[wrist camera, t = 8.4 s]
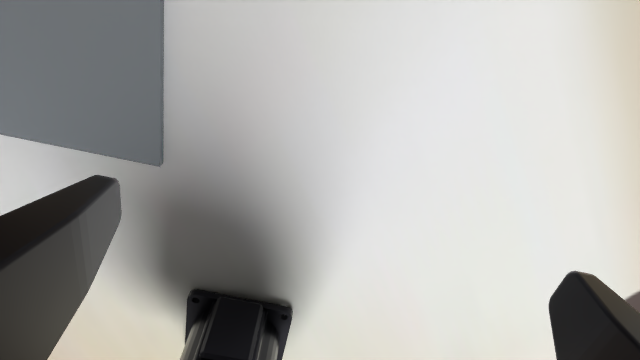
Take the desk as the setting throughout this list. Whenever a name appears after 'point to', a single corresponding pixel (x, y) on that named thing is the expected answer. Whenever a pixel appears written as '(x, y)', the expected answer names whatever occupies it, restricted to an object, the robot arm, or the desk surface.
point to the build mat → (84, 75)
